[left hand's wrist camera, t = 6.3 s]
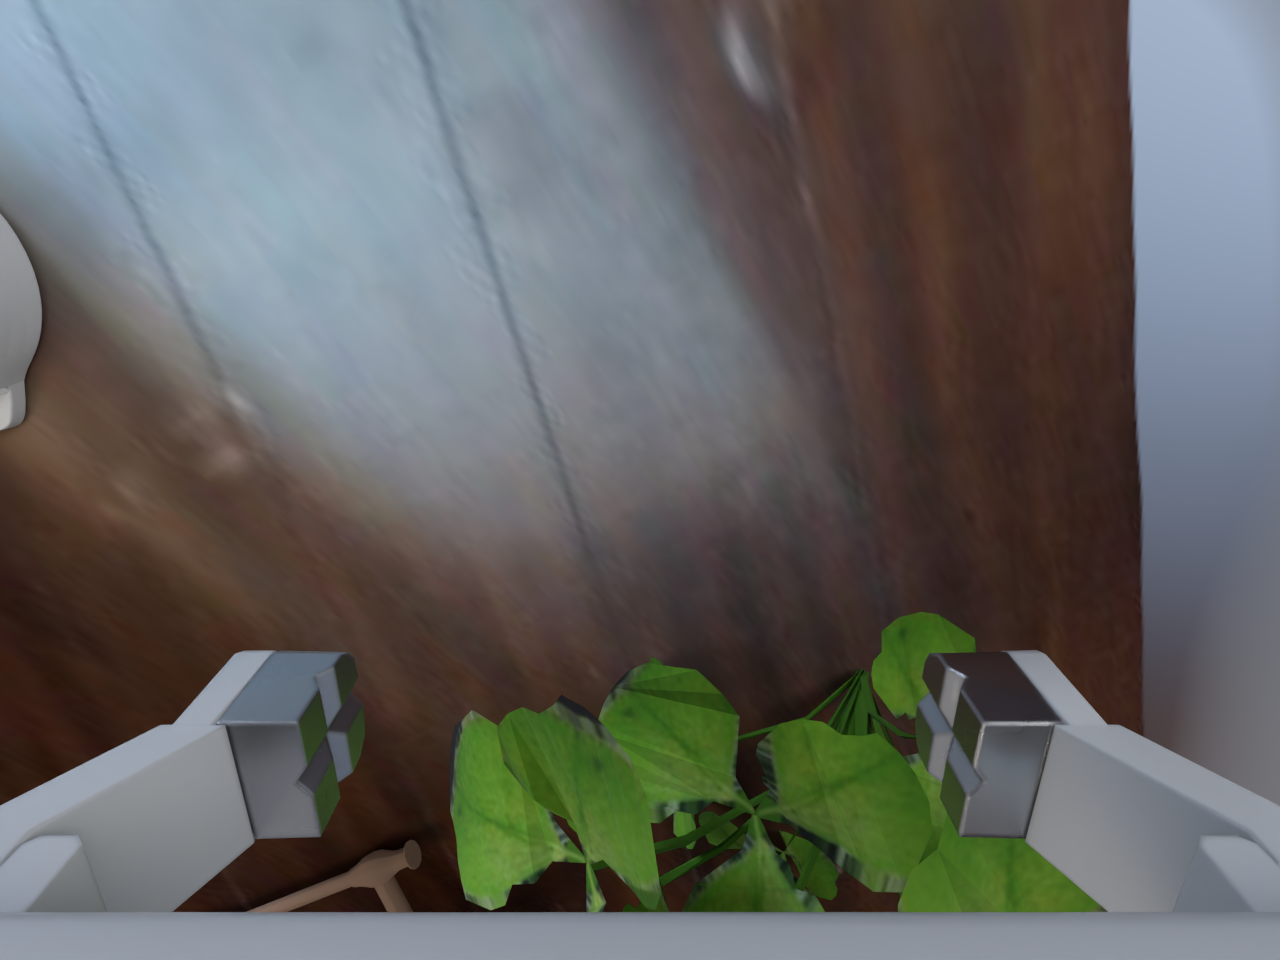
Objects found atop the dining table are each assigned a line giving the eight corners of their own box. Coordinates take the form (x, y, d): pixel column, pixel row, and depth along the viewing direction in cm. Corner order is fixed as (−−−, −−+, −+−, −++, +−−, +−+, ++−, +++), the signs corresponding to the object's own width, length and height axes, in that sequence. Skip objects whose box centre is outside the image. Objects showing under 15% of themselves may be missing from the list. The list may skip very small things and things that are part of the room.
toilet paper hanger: (432, 807, 61) (389, 871, 53) (494, 925, 62) (461, 1005, 54) (177, 910, 65) (103, 983, 58) (238, 1019, 66) (173, 1105, 59)
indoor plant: (1274, 871, 50) (1465, 1622, 29) (735, 821, 74) (626, 1220, 53) (1175, 320, 31) (1524, 1364, 10) (487, 490, 54) (159, 910, 33)
